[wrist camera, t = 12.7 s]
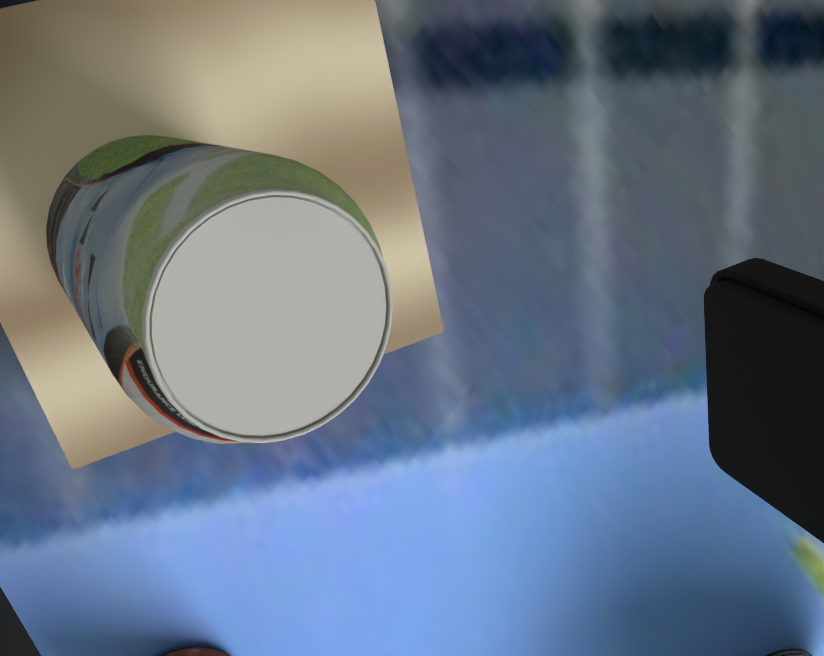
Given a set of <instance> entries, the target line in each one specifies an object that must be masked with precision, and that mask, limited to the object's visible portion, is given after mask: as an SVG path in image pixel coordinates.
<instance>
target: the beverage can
mask: <svg viewBox="0 0 824 656" xmlns="http://www.w3.org/2000/svg"><path fill="white" fill-rule="evenodd" d="M46 238H47V249H48V253H49V258H50V262H51V265H52V268H53V270H54V272H55V274H56V277H57V279H58V281H59V283H60V285H61V286H62V288H63V290H64V292H65V293H66V295H67V297H68V298H69V300H70V302H71V304H72V305H73V307H74V309H75V311H76V312H77V314H78V316H79V317H80V319H81V321H82V323H83V324H84V326H85V328H86V330H87V331H88V333H89V335H90V337H91V338H92V340H93V342H94V343H95V345H96V347H97V349H98V350H99V352H100V354H101V356H102V357H103V359H104V361H105V362H106V364H107V366H108V368H109V369H110V371H111V373H112V374H113V376H114V377H115V379H116V380H117V382H118V383H119V385H120V386H121V388H122V389H123V390H124V392H125V393H126V395H127V396H128V397H129V398H130V399H131V400H132V401H133V402H134V403H135V404H136V405H137V406H138V407H139V408H140V409H141V410H142V411H143V412H144V413H145V414H147V415H148V416H150V417H151V418H153V419H154V420H156V421H157V422H159V423H160V424H162V425H163V426H165V427H167V428H168V429H171V430H173V431H176V432H178V433H180V434H183V435H185V436H188V437H190V438H193V439H198V440H202V441H207V442H212V443H216V444H249V443H267V442H274V441H282V440H287V439H290V438H293V437H296V436H300V435H303V434H306V433H308V432H310V431H312V430H314V429H316V428H318V427H320V426H322V425H324V424H325V423H327V422H328V421H330V420H331V419H333V418H334V417H336V416H337V415H338V414H340V413H341V412H342V411H343V410H344V409H345V408H346V407H348V406H349V405H350V404H351V403H352V402H353V401H354V400H355V399H356V398H357V397H358V395H359V394H360V393H361V392H362V390H363V389H364V388H365V387H366V385H367V384H368V383H369V381H370V379H371V378H372V376H373V374H374V373H375V371H376V369H377V367H378V366H379V364H380V361H381V359H382V356H383V354H384V351H385V349H386V346H387V342H388V338H389V334H390V329H391V324H392V311H393V301H392V288H391V282H390V278H389V274H388V270H387V266H386V264H385V262H384V259H383V256H382V252H381V248H380V245H379V243H378V240H377V238H376V236H375V234H374V231H373V229H372V227H371V225H370V223H369V221H368V220H367V218H366V217H365V215H364V214H363V212H362V211H361V209H360V208H359V207H358V205H357V204H356V203H355V201H354V200H353V199H352V198H351V197H350V196H349V195H348V194H347V193H346V192H345V191H344V190H343V189H342V188H341V187H340V186H339V185H337V184H336V183H335V182H333V181H332V180H330V179H329V178H328V177H326V176H325V175H323V174H322V173H321V172H319V171H317V170H315V169H313V168H311V167H308V166H306V165H304V164H302V163H300V162H298V161H295V160H292V159H288V158H284V157H280V156H276V155H272V154H267V153H261V152H255V151H249V150H243V149H238V148H232V147H226V146H220V145H214V144H208V143H202V142H196V141H191V140H185V139H179V138H173V137H167V136H156V135H140V136H131V137H126V138H122V139H119V140H115V141H112V142H109V143H107V144H105V145H103V146H101V147H99V148H97V149H95V150H93V151H92V152H90V153H89V154H88V155H86V156H85V157H84V158H82V159H81V160H80V161H78V162H77V163H76V164H75V166H74V167H73V168H72V169H71V170H70V171H69V172H68V173H67V174H66V175H65V177H64V179H63V180H62V182H61V184H60V185H59V187H58V188H57V190H56V192H55V195H54V197H53V200H52V203H51V205H50V208H49V213H48V219H47V225H46Z"/></svg>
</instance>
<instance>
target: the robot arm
mask: <svg viewBox="0 0 824 656" xmlns="http://www.w3.org/2000/svg"><path fill="white" fill-rule="evenodd" d="M704 315H705V342H706V369H707V396H708V423H709V446H710V451H711V454H712V457H713V459H714V460H715V462H716V464H717V465H718V466H719V467H720V468H721V469H722V470H723V471H724V472H725V473H727V474H728V475H729V476H731V477H732V478H734V479H735V480H736V481H738V482H739V483H741V484H742V485H743V486H745V487H746V488H748V489H749V490H750V491H752V492H753V493H755V494H756V495H757V496H759V497H760V498H762V499H763V500H764V501H766V502H767V503H769V504H770V505H771V506H773V507H774V508H776V509H777V510H778V511H780V512H781V513H783V514H784V515H785V516H787V517H788V518H790V519H791V520H792V521H794V522H795V523H796V524H798V525H799V526H801V527H802V528H803V529H805V530H806V531H808V532H809V533H810V534H812V535H813V536H815V537H816V538H817V539H819V540H820V541H822V542H823V543H824V281H822V280H819V279H816V278H814V277H811V276H808V275H805V274H802V273H800V272H797V271H794V270H791V269H789V268H786V267H783V266H780V265H777V264H775V263H772V262H769V261H766V260H764V259H759V258H753V259H749V260H746V261H744V262H741V263H738V264H736V265H733V266H731V267H728V268H725V269H723V270H720V271H718V272H717V273H716V274H714V275H713V277H712V280H711V282H710V286H709V287H708V288H707V289H706V291H705V293H704ZM0 656H41V655H40V653H39V651H38V650H37V648H36V646H35V645H34V643H33V641H32V640H31V638H30V636H29V635H28V633H27V631H26V629H25V628H24V626H23V624H22V623H21V621H20V619H19V618H18V616H17V614H16V613H15V611H14V609H13V608H12V606H11V604H10V602H9V601H8V599H7V597H6V596H5V594H4V592H3V591H2V589H1V587H0Z"/></svg>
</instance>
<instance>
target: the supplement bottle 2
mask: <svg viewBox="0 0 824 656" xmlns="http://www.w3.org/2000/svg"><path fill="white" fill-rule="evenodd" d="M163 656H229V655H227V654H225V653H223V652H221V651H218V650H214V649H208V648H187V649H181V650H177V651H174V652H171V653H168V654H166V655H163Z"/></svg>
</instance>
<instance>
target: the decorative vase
mask: <svg viewBox="0 0 824 656" xmlns="http://www.w3.org/2000/svg"><path fill="white" fill-rule="evenodd" d="M768 656H812V655H811V654H809V653H807V652H805V651H802V650H784V651H779V652H776V653H773V654H771V655H768Z"/></svg>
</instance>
